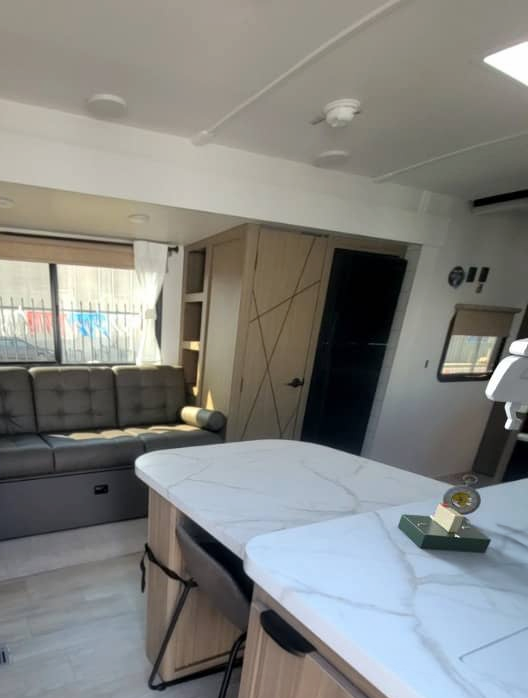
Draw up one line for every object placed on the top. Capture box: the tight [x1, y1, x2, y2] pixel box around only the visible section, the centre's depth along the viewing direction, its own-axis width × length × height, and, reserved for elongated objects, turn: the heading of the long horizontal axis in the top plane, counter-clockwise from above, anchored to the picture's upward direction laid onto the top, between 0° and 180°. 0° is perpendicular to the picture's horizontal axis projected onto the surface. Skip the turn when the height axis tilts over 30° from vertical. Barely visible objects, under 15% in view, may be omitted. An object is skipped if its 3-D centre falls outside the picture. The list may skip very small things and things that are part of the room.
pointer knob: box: [433, 502, 465, 533], centre depth 79 cm, size 6×2×4 cm, turn 176°
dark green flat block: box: [397, 513, 492, 554], centre depth 81 cm, size 12×10×3 cm
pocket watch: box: [433, 474, 482, 525], centre depth 88 cm, size 8×8×10 cm
